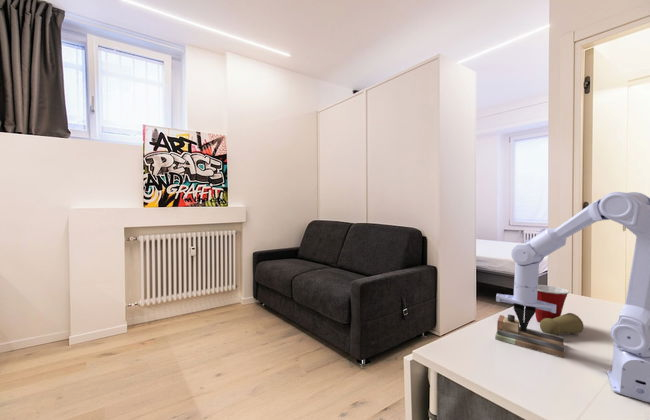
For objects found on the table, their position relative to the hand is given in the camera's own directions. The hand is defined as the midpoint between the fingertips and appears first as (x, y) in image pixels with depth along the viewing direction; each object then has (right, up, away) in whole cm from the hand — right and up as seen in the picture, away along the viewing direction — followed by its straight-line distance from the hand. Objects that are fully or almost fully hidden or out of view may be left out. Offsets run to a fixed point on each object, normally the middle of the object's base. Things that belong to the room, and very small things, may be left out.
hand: (523, 330), depth 87 cm
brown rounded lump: (+19, 0, +5) cm, 20 cm away
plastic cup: (+16, -3, +13) cm, 21 cm away
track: (+1, -3, -1) cm, 3 cm away
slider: (-3, -2, +2) cm, 4 cm away
